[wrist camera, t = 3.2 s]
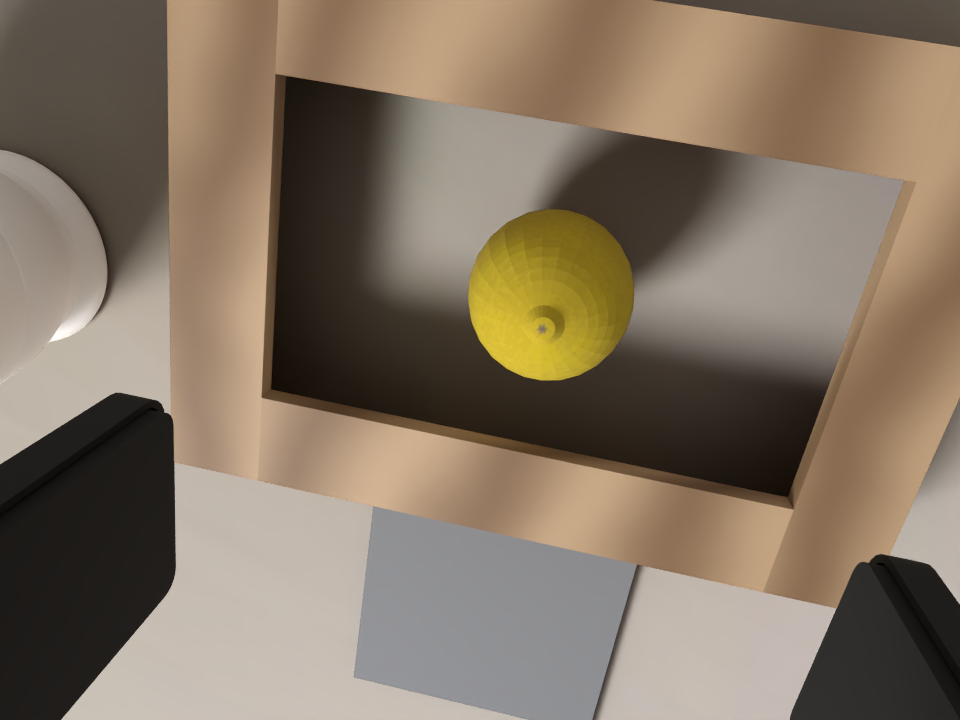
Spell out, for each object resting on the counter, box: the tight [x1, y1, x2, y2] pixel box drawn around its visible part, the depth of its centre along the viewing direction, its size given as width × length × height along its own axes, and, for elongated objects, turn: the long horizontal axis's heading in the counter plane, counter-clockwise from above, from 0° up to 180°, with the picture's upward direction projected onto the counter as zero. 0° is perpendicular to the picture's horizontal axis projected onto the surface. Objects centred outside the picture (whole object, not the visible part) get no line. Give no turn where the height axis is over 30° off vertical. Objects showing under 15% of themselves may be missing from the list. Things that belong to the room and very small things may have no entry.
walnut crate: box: [167, 0, 960, 608], centre depth 25 cm, size 26×18×5 cm
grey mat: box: [354, 506, 637, 720], centre depth 33 cm, size 12×12×1 cm
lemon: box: [468, 209, 634, 381], centre depth 24 cm, size 6×6×8 cm
